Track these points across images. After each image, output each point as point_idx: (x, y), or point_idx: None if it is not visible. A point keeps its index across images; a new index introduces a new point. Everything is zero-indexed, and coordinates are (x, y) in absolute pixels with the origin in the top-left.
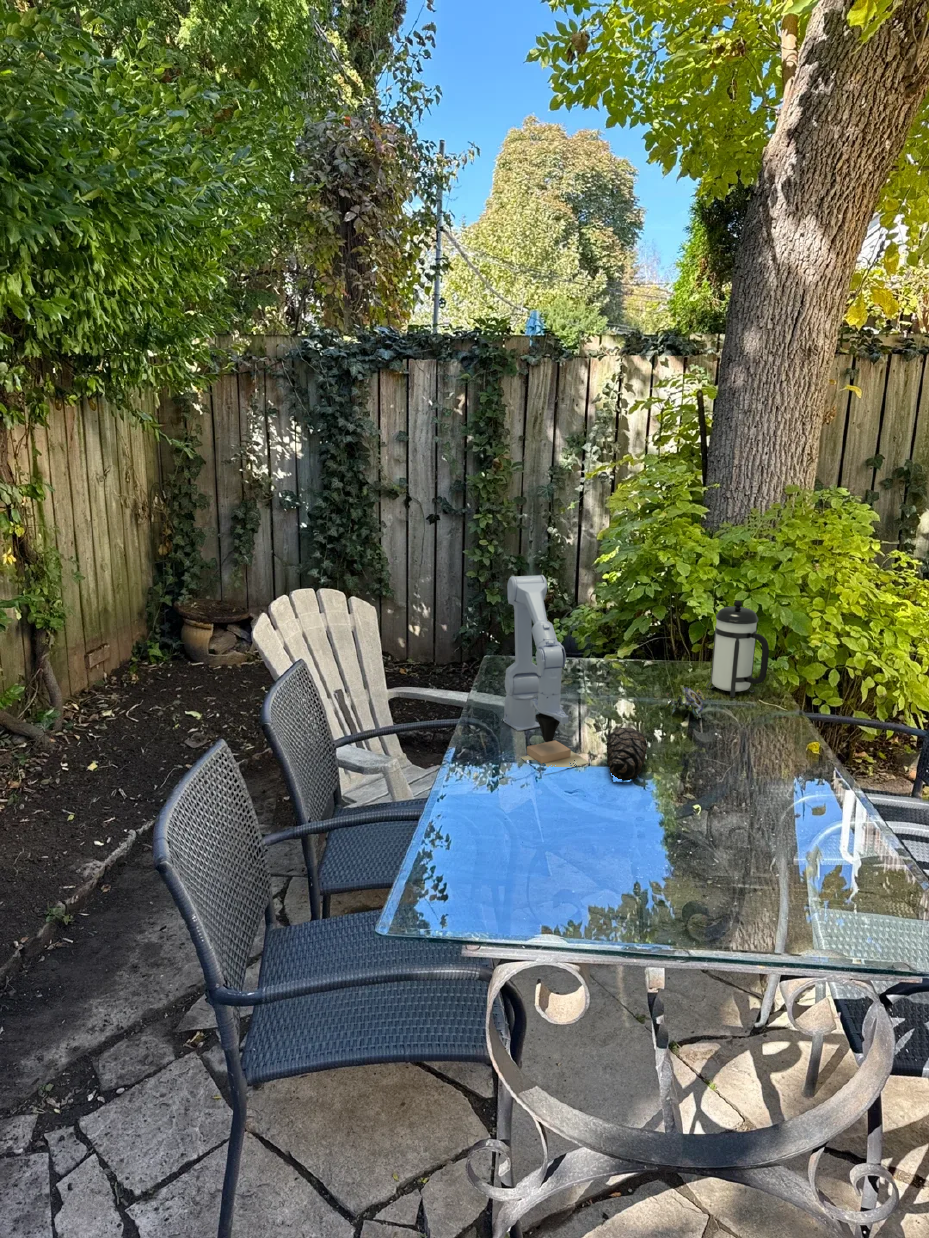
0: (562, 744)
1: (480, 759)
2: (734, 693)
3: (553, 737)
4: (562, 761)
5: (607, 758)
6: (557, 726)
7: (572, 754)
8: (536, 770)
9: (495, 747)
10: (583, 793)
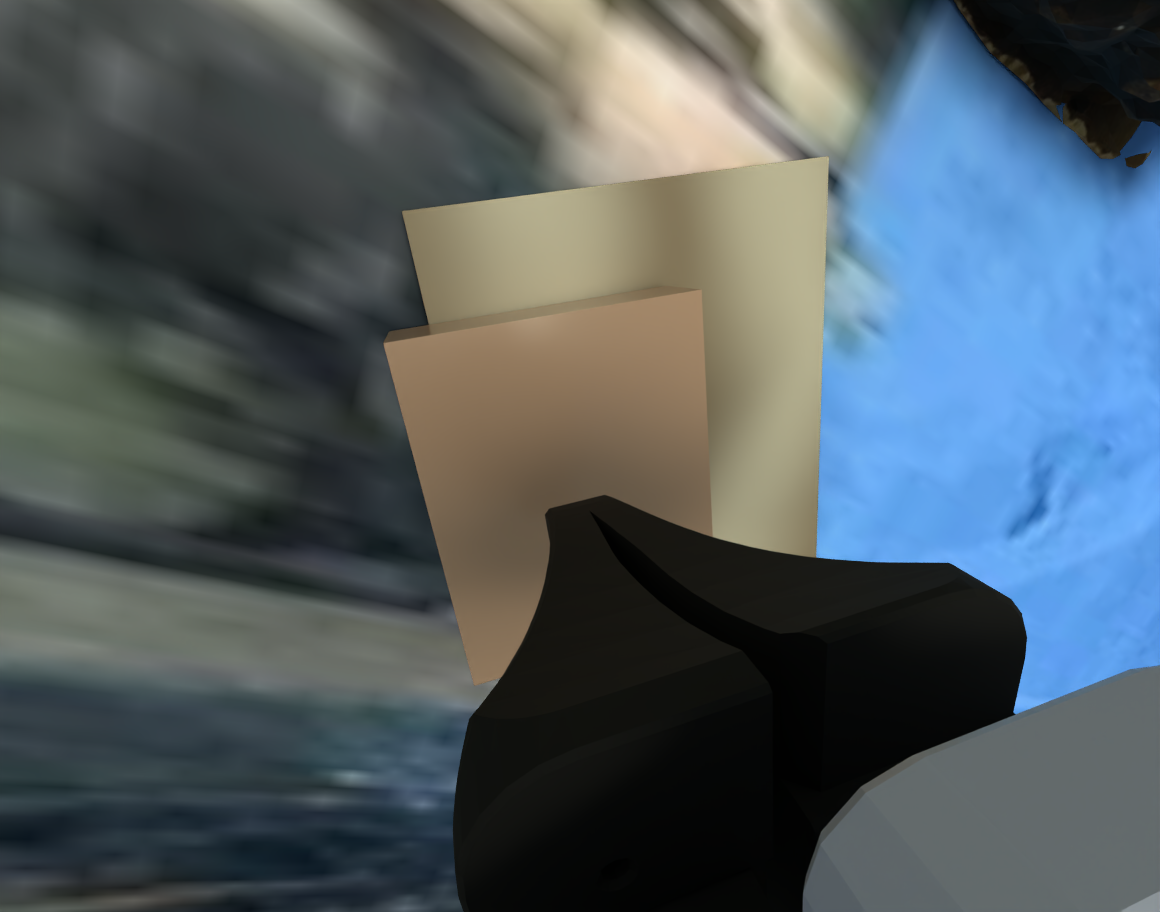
0: (541, 317)
1: (439, 907)
2: None
3: (626, 504)
4: (709, 399)
5: (1115, 35)
6: (765, 553)
7: (612, 229)
8: None
9: (227, 822)
10: (1084, 445)
